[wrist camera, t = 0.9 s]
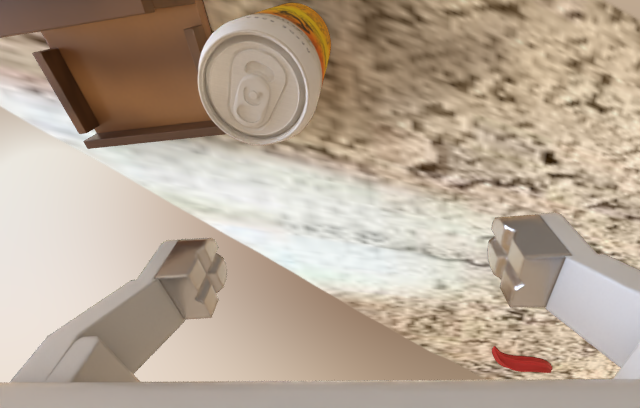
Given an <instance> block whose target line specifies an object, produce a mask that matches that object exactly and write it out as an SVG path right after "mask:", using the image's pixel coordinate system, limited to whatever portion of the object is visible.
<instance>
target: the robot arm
mask: <svg viewBox="0 0 640 408" xmlns="http://www.w3.org/2000/svg"><path fill="white" fill-rule="evenodd" d="M491 230H492V232H493V233H494V235H495V236H494V237H493V238H492V239H491V240H489V242H488V248H487V255H488V262H489V265H490V268H491V270H492V272H493V274H494V275H495V276H497V277H499V278H500V279H502V280H501V284H500V288H501V290H502V292H503V294H504V296H505V298H506V300H507V302H508V304H509V306H510V307H546V308H545V309H547V310H548V311H549V312H550V313H552V314H553V315H554V316H555V317H557V318H558V319H559V320H561V321H562V322H563V323H564V324H566V325H567V326H568V327H569V328H571V329H572V330H573V331H575V332H576V333H577V334H578V335H580V336H581V337H582V338H583V339H585V340H586V341H587V342H588V343H590V344H591V345H592V346H594V347H595V348H596V349H597V350H599V351H600V352H601V353H602V354H604V355H605V356H606V357H607V358H609V359H610V360H611V361H613V362H614V363H615V364H616V365H618V366H619V367H620V369H619V371H618V372H617V373H616V375H615V376H614V377H613V379H553V380H406V381H405V380H397V381H396V380H394V381H393V380H392V381H391V380H390V381H389V380H386V381H236V382H235V381H232V382H231V381H230V382H229V381H222V382H221V381H220V382H219V381H218V382H140V381H139V380H138V379H137V378H136V377H135V376H134V373H135V372H136V371H137V370H138V369H139V368H140V367H141V366H142V365H143V364H144V363H145V362H146V361H147V359H149V357H150V356H151V355H152V354H153V353H154V352H155V351H156V350H157V349H158V348H159V347H160V346H161V345H162V344H163V343H164V342H165V341H166V340H167V339H168V338H169V337H170V336H171V335H172V334H173V333H174V332H175V331H176V330H177V329H178V328H179V327H180V325H181V324H182V323H183V322H184V321H185V319H200V318H211V317H212V315H213V312H214V310H215V307H216V305H217V302H218V300H219V299H218V296H217V294H216V293H217V292H219V291H220V290H221V289H222V288H223V287H224V284H225V282H226V277H227V276H226V275H227V268H226V263H225V261H224V258H223V257H221V256H220V255H219V254H217V253H216V252H217V250H218V245H217V243H216V242H215V240H214V239H212V238H199V239H181V240H167V241H165V242H163V243H162V244H161V245H160V246H159V248H158V249H157V251H156V252H155V254H154V255H153V256H152V258H151V259H150V261H149V262H148V264H147V265H146V267H145V268H144V269H143V271H142V272H141V274H140V275H139V277H138V278H137V279H136V280H131V281H129V282H128V283H126V284H125V285H123V286H122V287H120V288H119V289H117V290H116V291H114V292H113V293H111V294H110V295H108V296H107V297H105V298H104V299H102V300H101V301H99V302H98V303H97V304H95V305H93V306H92V307H90V308H89V309H87V310H86V311H85V312H83V313H82V314H80V315H79V316H77V317H76V318H74V319H73V320H71V321H70V322H68V323H67V324H65V325H64V326H62V327H61V328H59V329H58V330H56V331H55V332H53V333H52V334H50V335H49V336H47V338H46V339H45V340H44V341H43V342H42V344H41V345H40V346H39V347H38V349H37V350H36V351H35V352H34V353H33V355H32V356H31V357H30V358H29V359H28V361H27V362H26V363H25V364H24V365H23V367H22V368H21V369H20V370H19V371H18V373H17V374H16V375H15V376H14V377H13V379H12V380H11V381H10V382H9V383H0V408H640V270H638V269H636V268H634V267H632V266H630V265H627V264H625V263H623V262H621V261H619V260H617V259H614V258H612V257H610V256H608V255H606V254H597V253H596V252H595V251H594V250H593V248H592V247H591V246H590V245H589V244H588V243H587V242H586V241H585V240H584V239H583V238H582V236H581V235H580V234H579V233H578V232H577V231H576V230H575V229H574V228H573V227H572V226H571V224H570V223H569V222H568V221H567V220H566V219H565V218H564V217H563V216H562V215H561V214H559V213H557V212H552V213H541V214H535V215H522V216H510V217H497V218H495V219H494V221H493V223H492V227H491Z"/></svg>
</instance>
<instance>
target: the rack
mask: <svg viewBox="0 0 640 408" xmlns="http://www.w3.org/2000/svg"><path fill="white" fill-rule="evenodd" d="M39 31H41V33H42V34H43V36H44V38H45V40H46V42H47V44H48V45H49V47H50V49H48V50H43V51H38V52H34V53H32V54H33V56H34V57H35V59H36V61H37V62H38V64H39V66H40V68H41V69H42V71H43V73H44V74H45V76H46V78H47V80H48V81H49V83H50V85H51V86H52V88H53V90H54V92H55V93H56V95H57V97H58V98H59V100H60V102H61V104H62V105H63V107H64V109H65V110H66V112H67V114H68V116H69V117H70V119H71V121H72V122H73V124H74V126H75V128H76V129H77V131H78V133H79V134H83V133H87V132H89V131H91V130H93V129H95V131H96V132H97V134H95V135H93V136H92V137H90V138H88V139H87V140H85V141H84V143H85V145H86V147H87V148H88V149H91V148H100V147H109V146H119V145H128V144H137V143H147V142H156V141H165V140H175V139H184V138H194V137H203V136H212V135H222V134H226V133H225V132H223V131H222V130H221V129H220V128H219V127H218V126H217V125H216V124H215V123H214V122H213V121H212V119H211V118H210V117H209V115H208V114H207V112H206V110H205V108H204V106H203V104H202V101H201V98H200V95H199V90H198V66H199V59H200V56H201V52H202V50H203V47H204V45H205V43H206V42H207V40H208V39H209V37H210V36H211V35H212V32H211V29H210V25H209V22H208V18H207V15H206V11H205V8H204V4H203V1H202V0H0V38H2V37H8V36H15V35H21V34H27V33H33V32H39Z"/></svg>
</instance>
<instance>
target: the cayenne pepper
mask: <svg viewBox="0 0 640 408" xmlns="http://www.w3.org/2000/svg"><path fill="white" fill-rule="evenodd" d="M492 353H493V356H494V358H495V360H496V361H497V362H498V363H499V364H500V365H501V366H503V367H506V368H510V369H512V370H515V371H521V372H531V371H532V372H544V373H551V370H552V366H551V364H550V363H549V362H547V361H546V360H543V359H540V358H535V357H524V356H513V355H507V354H504V353H501V352H500V351H499V350H498V349H497V348H496V347H495V346H494V347H493V349H492Z"/></svg>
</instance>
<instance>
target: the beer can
mask: <svg viewBox="0 0 640 408" xmlns="http://www.w3.org/2000/svg"><path fill="white" fill-rule="evenodd" d="M330 50H331V41H330V35H329V31H328V29H327V26H326V24H325V22H324V21H323V19H322V18H321V17H320V16H319V15H318V13H316V12H315V11H314V10H313V9H311V8H310V7H308V6H305V5H303V4H299V3H286V4H282V5H279V6H276V7H273V8H269V9H266V10H263V11H260V12H257V13H254V14H250V15H247V16H244V17H241V18H238V19H235V20H232V21H229V22H227V23H225V24H223V25H222V26H221V27H219V28H218V29H217V30H216V31H215V32H214V33H212V35H211V36H210V37H209V39H208V40H207V42H206V43H205V45H204V47H203V50H202V52H201V56H200V59H199V66H198V90H199V95H200V98H201V101H202V104H203V106H204V108H205V110H206V112H207V114H208V115H209V117H210V118H211V119H212V121H213V122H214V123H215V124H216V125H217V126H218V127H219V128H220V129H221V130H222V131H223V132H225V133H226V134H227V135H229V136H231V137H232V138H234V139H236V140H238V141H241V142H244V143H247V144H252V145H270V144H274V143H278V142H282V141H285V140H287V139H290V138H291V137H293V136H295V135H296V134H298V133H299V132H300V131H301V130H303V129H304V128H305V126H306V125H307V124H308V123H309V121H310V120H311V118H312V116H313V115H314V112H315V110H316V107H317V103H318V99H319V95H320V92H321V88H322V84H323V80H324V76H325V72H326V68H327V64H328V60H329V56H330Z"/></svg>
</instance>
